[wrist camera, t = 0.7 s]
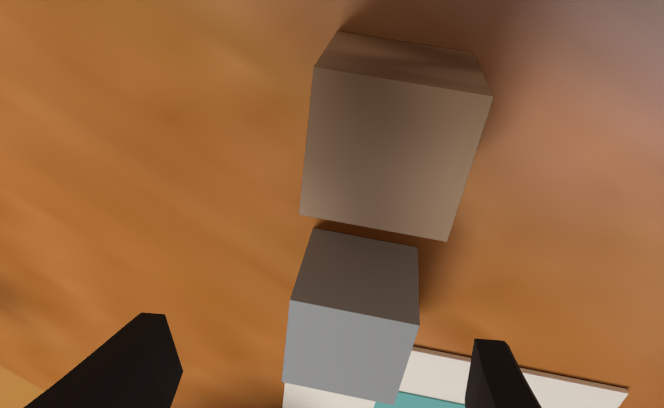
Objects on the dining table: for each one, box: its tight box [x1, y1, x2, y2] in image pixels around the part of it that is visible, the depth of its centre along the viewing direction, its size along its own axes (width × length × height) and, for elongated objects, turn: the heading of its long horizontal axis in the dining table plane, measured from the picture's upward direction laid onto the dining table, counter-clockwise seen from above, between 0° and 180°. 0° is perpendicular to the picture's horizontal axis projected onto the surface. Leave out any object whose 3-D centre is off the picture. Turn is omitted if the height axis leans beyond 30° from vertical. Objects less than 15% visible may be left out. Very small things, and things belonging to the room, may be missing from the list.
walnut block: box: [299, 31, 494, 242], centre depth 16 cm, size 5×5×5 cm
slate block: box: [282, 228, 420, 405], centre depth 21 cm, size 5×5×5 cm
